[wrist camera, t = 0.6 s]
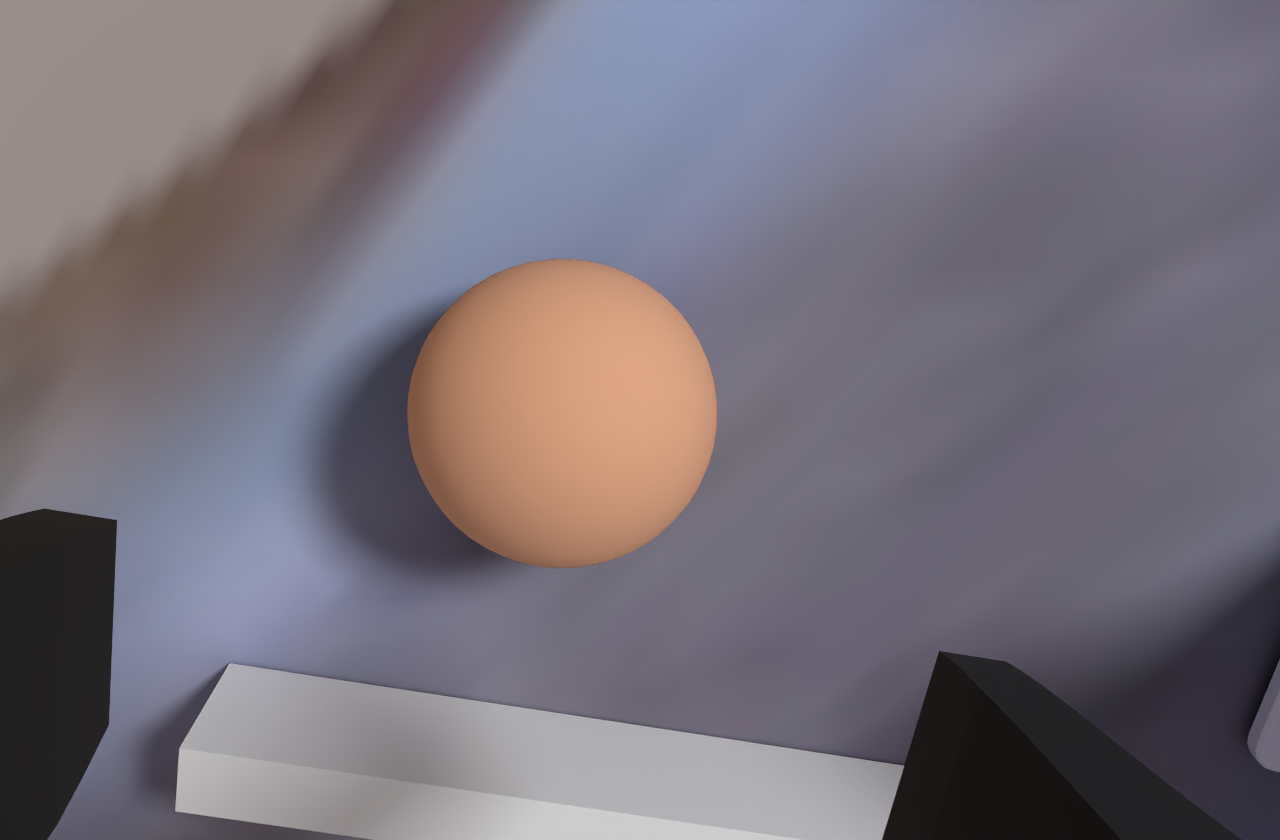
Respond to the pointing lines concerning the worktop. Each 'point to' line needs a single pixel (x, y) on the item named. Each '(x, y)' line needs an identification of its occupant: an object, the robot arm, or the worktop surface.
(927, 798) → the robot arm
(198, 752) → the bar
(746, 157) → the worktop surface
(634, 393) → the ball
